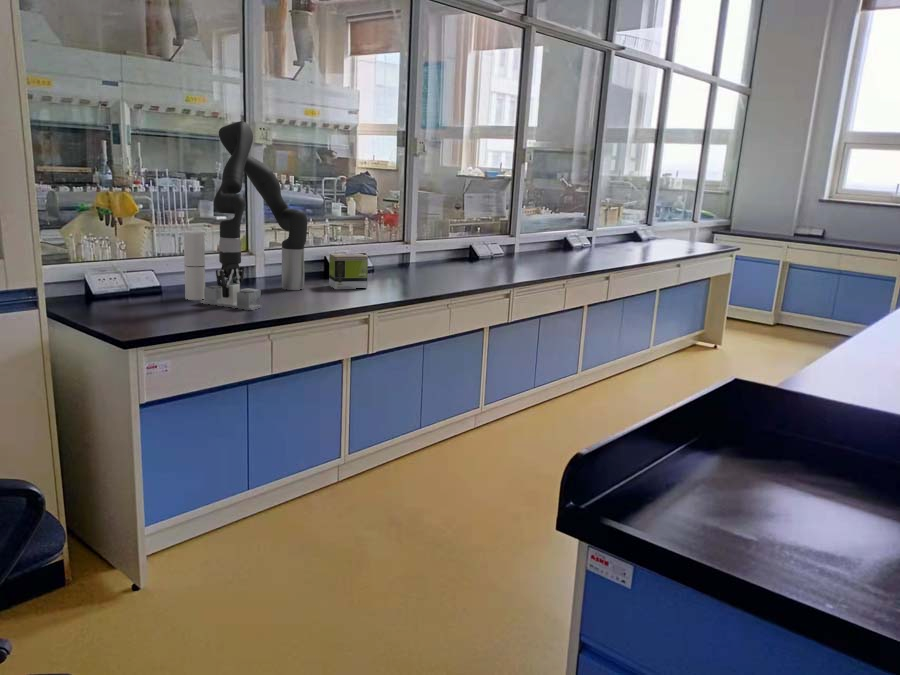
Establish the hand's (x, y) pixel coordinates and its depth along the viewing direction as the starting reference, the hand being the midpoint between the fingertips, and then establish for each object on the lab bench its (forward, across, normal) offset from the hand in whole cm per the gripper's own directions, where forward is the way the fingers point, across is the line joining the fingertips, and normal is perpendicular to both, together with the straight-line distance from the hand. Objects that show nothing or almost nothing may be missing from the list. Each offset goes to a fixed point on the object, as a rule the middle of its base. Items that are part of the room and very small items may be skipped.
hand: (230, 296), depth 252 cm
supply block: (+4, -16, -3) cm, 17 cm away
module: (+3, 0, 0) cm, 3 cm away
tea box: (+4, -62, +16) cm, 64 cm away
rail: (+4, 0, 0) cm, 4 cm away
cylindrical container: (+4, -3, -18) cm, 19 cm away
